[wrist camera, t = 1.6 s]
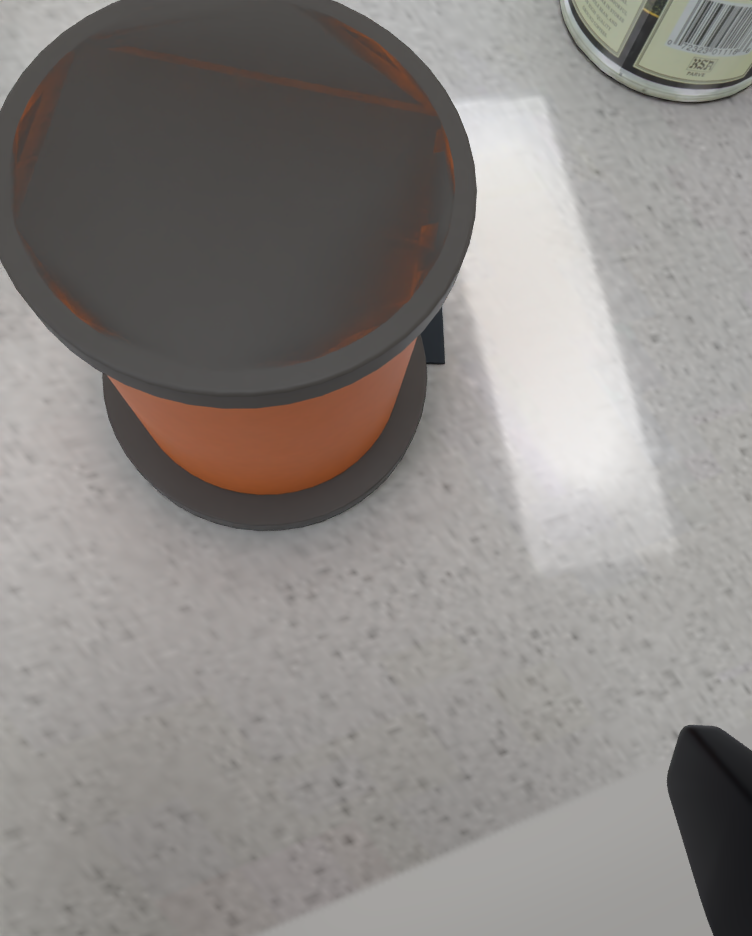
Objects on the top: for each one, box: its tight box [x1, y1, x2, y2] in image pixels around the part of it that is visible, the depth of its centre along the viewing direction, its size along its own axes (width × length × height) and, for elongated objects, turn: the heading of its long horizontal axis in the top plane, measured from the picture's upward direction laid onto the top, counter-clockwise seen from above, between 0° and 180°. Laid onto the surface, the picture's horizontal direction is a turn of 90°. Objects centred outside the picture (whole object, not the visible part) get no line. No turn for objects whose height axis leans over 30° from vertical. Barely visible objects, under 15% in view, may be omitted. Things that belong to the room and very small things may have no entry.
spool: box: [0, 0, 477, 531], centre depth 19 cm, size 11×11×11 cm
